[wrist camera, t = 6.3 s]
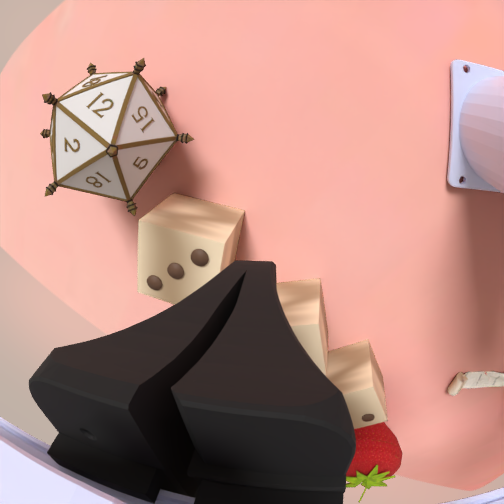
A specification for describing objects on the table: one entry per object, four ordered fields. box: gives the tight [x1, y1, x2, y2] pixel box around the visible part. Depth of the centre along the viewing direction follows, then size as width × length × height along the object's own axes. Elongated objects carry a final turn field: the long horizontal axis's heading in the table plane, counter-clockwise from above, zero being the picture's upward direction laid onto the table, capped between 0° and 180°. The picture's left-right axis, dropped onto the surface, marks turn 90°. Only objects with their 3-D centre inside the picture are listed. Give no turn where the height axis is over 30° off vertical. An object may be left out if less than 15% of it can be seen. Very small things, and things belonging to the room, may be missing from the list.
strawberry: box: [346, 422, 402, 502], centre depth 24 cm, size 6×8×10 cm
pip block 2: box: [327, 339, 387, 429], centre depth 24 cm, size 5×5×5 cm
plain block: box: [276, 278, 328, 377], centre depth 22 cm, size 5×5×5 cm
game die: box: [40, 58, 194, 216], centre depth 16 cm, size 9×8×10 cm
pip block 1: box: [138, 193, 245, 304], centre depth 20 cm, size 5×5×5 cm
